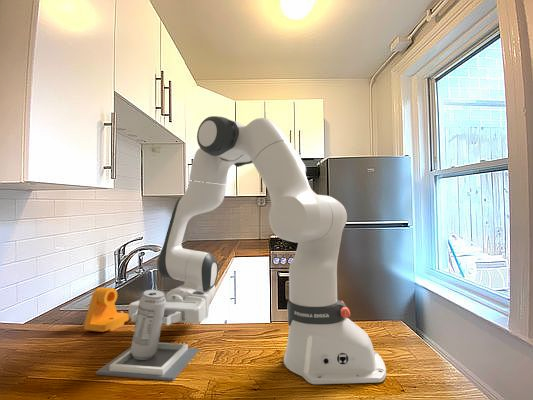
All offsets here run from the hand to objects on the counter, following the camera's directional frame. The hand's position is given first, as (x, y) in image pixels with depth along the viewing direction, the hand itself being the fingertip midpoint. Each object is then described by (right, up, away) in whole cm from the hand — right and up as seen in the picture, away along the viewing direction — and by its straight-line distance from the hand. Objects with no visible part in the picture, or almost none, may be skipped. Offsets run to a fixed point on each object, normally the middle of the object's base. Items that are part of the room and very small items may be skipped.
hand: (148, 320), depth 71 cm
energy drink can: (-2, -9, +2) cm, 9 cm away
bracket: (-22, -12, +23) cm, 34 cm away
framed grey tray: (0, -10, 0) cm, 10 cm away
